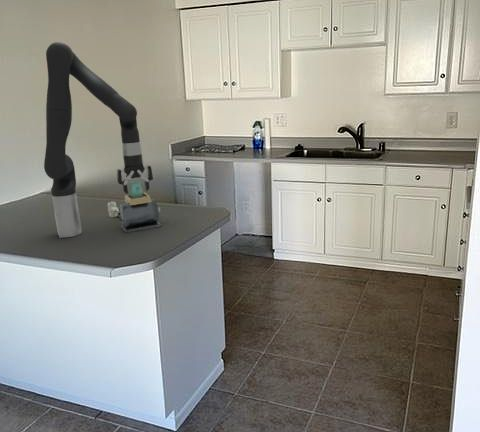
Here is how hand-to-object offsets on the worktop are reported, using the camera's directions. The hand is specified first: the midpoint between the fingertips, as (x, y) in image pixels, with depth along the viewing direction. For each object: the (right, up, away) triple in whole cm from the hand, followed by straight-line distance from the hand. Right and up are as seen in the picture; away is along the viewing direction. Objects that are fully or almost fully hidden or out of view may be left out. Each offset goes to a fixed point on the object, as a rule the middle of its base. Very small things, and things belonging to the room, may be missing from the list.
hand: (136, 192), depth 198 cm
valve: (-13, -11, +20) cm, 26 cm away
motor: (+1, -14, +4) cm, 15 cm away
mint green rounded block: (0, -3, +1) cm, 3 cm away
